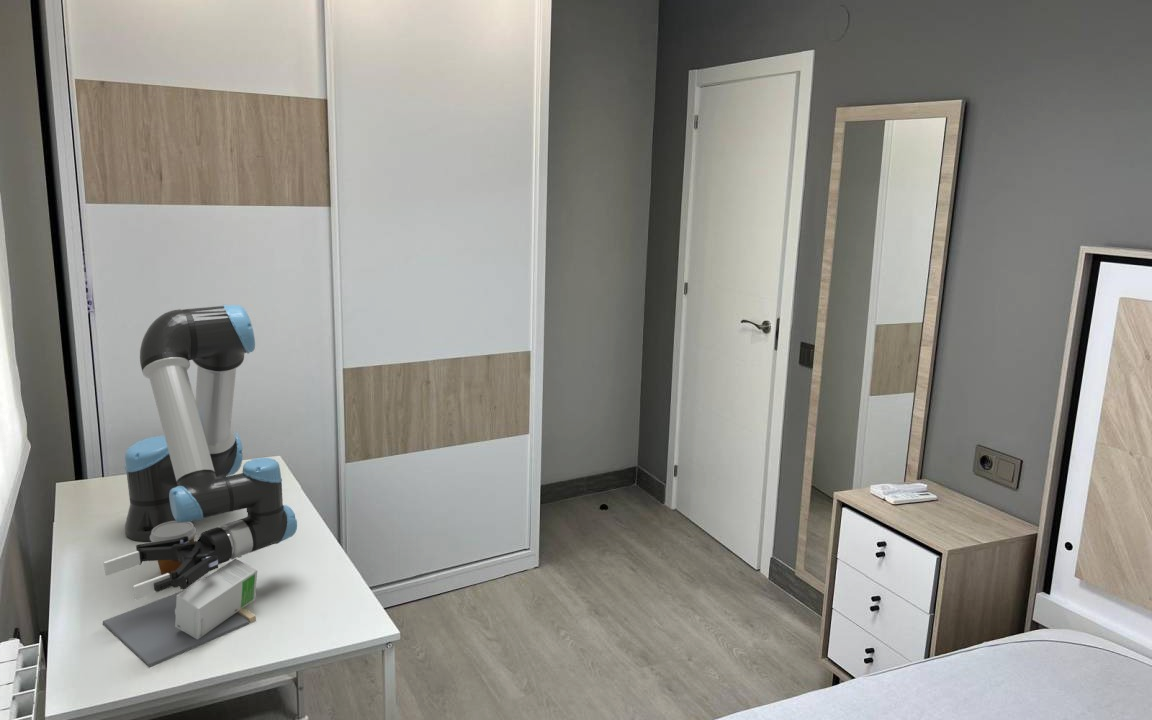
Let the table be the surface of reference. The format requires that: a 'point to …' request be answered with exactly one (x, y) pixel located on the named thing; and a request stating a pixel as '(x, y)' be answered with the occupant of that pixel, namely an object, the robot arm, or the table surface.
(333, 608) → the table surface
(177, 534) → the disposable coffee cup
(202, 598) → the skincare box
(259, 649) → the table surface
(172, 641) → the rubber mat
